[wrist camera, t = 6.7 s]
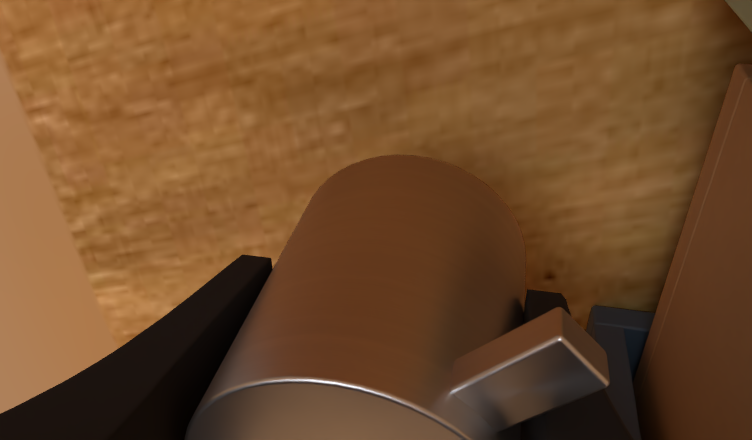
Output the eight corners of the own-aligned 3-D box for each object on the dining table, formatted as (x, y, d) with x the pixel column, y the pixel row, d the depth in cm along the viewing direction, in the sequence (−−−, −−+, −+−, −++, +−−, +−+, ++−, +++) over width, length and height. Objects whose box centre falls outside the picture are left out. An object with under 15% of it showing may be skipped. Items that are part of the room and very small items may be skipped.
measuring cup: (407, 363, 16) (351, 612, 11) (260, 235, 15) (123, 456, 10) (647, 233, 13) (714, 515, 8) (483, 48, 11) (439, 250, 6)
